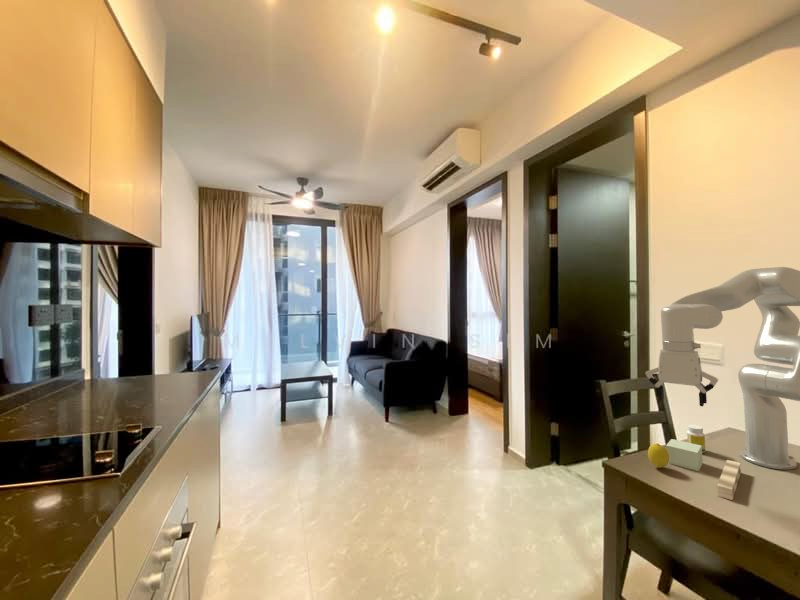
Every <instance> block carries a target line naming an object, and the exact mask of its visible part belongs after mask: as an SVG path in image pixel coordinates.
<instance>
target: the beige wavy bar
mask: <svg viewBox="0 0 800 600" xmlns="http://www.w3.org/2000/svg"><path fill="white" fill-rule="evenodd" d="M741 469H742V468H741V462H738V461H734V460H729V459H727V460H726V462H725V464H724V467H723V469H722V472H721V475H720V476H719V479H718V483H717V485H716V486H717V487H716V489H717V497H720V498H723V499H726V500H731V501H734V497H735V493H736V490H737V487H738V483H739V480H740V477H741V473H742V472H741V471H742V470H741Z"/></svg>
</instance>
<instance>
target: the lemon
mask: <svg viewBox="0 0 800 600" xmlns="http://www.w3.org/2000/svg"><path fill="white" fill-rule="evenodd" d="M647 456H648V460H649V461H650V463H651V464H652V465H654V466H656V468H658V469H660V468H664V467H667V466H668V464H669V463H668V462H669V454H668V452H667V450H666V447H664V446H663V445H661V444H660V443H653V444H651V445H650V446H649V447H648V450H647Z"/></svg>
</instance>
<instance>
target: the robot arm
mask: <svg viewBox="0 0 800 600" xmlns="http://www.w3.org/2000/svg"><path fill="white" fill-rule="evenodd" d="M751 301H754V302H755V304H756V306H757V308H758V309H759V312H760V314H761V325H760V328H759V331H758V334H757V338H756V341H755V344H754V346H753V347H754V348H753V354H754V356H755V357H756V358H757V359H759V360H761V361H764V362H766V363H767V362H768V363H774V364H778V365H771V364H764V363H747V364H745V365H743V366H742V367H741V368H740V369H739V370H738V373H737V376H738V377H737V378H738V382H739V387H740V388H741V392H742V398H743V408H744V409H743V410H744V411H743V412H744V425H745V426H744V427H745V429H744V430H745V446H746V448H743V449H741V450H740V451H739V455H740V457H741V458H742V459H743V460H746V461H747V462H750V463H751V464H755V465H757V466H761V467H764V468H765V467H766V468H769V469H775V470H794V469H796V468H797V466H798V465H797V462H796V460H794V459H793V458H791V457H790V455H789V437H788V436H789V435H788V433H789V432H788V417H787V416H788V414H787V409H786V406H785V404H784V403H783V401H782V399H785V400H791V401H795V402H796V401H797V402H800V335H799V331H800V319H799V318H798V316H797V315H796V314H795V313H794V311H793V310H791V308H789V307H800V270H799V269H795V268H792V267H787V266H777V267H764V268H763V267H762V268H751V269H747V270H744V271H742V272H740V273H739V274H736V275H734V276H733V277H732V278H729V279H728V280H727V281H725V282H723V283H721V284H719V285H718V286H717V285H716V286H714V287H710V288H708V289H704V290H701V291H698V292H695V293H691V294H688V295H686V296H683V297H681V298H680V299H678V300H676V301H674V302H672V303H671V304H669V306H665V307H662V308H661V310H660V322H661V339H662V349H660V351H659V355H658V356H659V357H658V367H655V368H653V369H650V370H646V371H645V372H644V374H645V376H646V377H647V379H648V381H649V383H651V384H653V386H654V387H655V388H656V390H655V391H656V397H658V400H659V401H664V398H665V392H664V386H663V384H664V383H667V384H674V385H683V386H692V387H693V386H695V388H697V389H698V390H699V392H698V398H699V399H698V400H699V403H698V404H699V407H704V405H705V404H707V401H708V400H707V393H708V392H709V391H711V390H713V388H714V387H715V386H716V385H717V383H718V382H719V378H718V377H716V376H713V375H711V374H709V373H707V372H705V371H704V370H703V371H702V363H701V358H700V354H699V351H697V350H698V349H702V348H701V343H697V342H695V335H694V329H699V330H709V329H714V328H716V327H718V326H719V325H720V324H721V323H722V321H723V317H724V315H723V313H722V312H726V311H733V310H737V309H739V308H741V307H743V306H745V305H747V304H748V303H750V302H751ZM779 364H780V365H788V366H793V368H790V367H784V366H779ZM657 373H658V380H657V379H656V378H655V377H654V376H653V375H654V374H657ZM703 378H705V379H706V380H708V381H710V382H709V383H708V384H706V385H704V384H703V383H702V382H703ZM780 398H781V399H780Z"/></svg>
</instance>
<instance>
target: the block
mask: <svg viewBox="0 0 800 600" xmlns="http://www.w3.org/2000/svg"><path fill="white" fill-rule="evenodd" d="M665 449H666V450H667V452H668V454H669V462H668V464H670V465H674V466H678V467H682V468H686V469H689V470H693V471H696V472H699V471H700V469H701V467H702V465H703V462H704V461H703V453H702V446H701V445H697V444H692V443H688V441H683V440H678V439H675V438H674V439H673V438H671V439H670V440H669V441H668V442H667V444H666V445H665Z"/></svg>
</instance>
